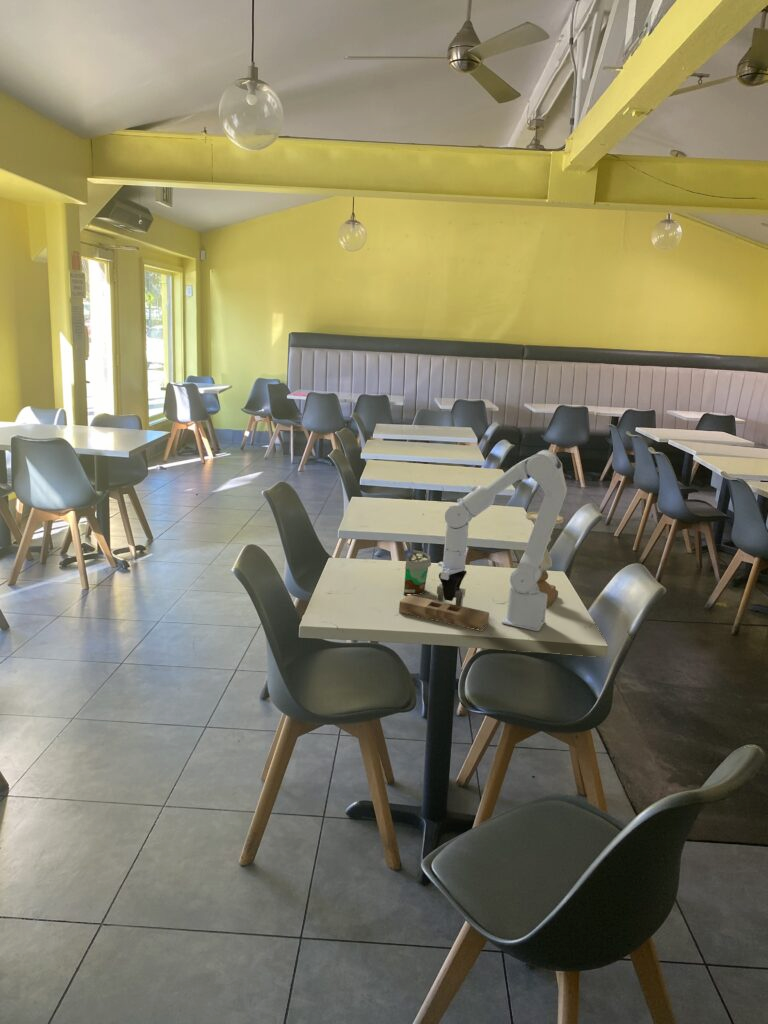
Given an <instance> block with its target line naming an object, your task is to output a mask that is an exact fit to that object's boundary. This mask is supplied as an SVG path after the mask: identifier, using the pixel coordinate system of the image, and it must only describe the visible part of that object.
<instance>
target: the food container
mask: <svg viewBox="0 0 768 1024" xmlns="http://www.w3.org/2000/svg"><path fill="white" fill-rule="evenodd" d="M430 557H431V556H430V555H429V554H427V553H425V552H423V551H419V550H415V549H413V550H412V555H411V556H409V559H408V560H405V567H404V569H405V572H404V588H403V595H404V594H419V595H421V594H420V593H422V594H424V593H425V589H426V582H427V577H428V572H429V567H431V565H432V562H431V558H430ZM423 592H424V593H423Z"/></svg>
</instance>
